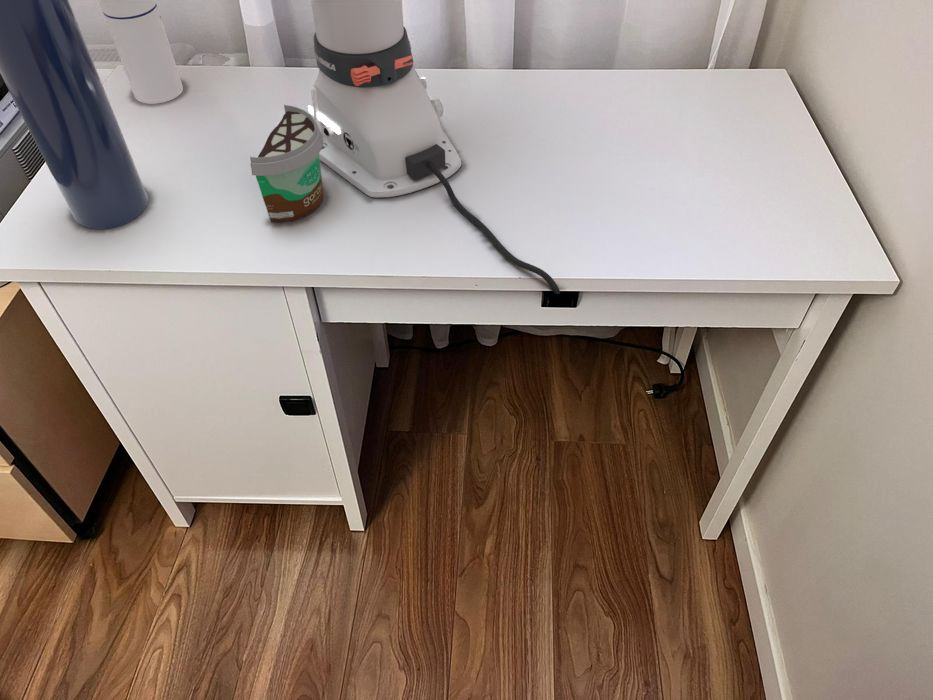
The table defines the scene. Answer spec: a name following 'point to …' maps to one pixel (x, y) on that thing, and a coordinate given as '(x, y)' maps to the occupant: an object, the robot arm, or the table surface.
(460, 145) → the table surface
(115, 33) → the cylindrical container
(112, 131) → the vase
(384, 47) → the robot arm
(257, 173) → the food container
